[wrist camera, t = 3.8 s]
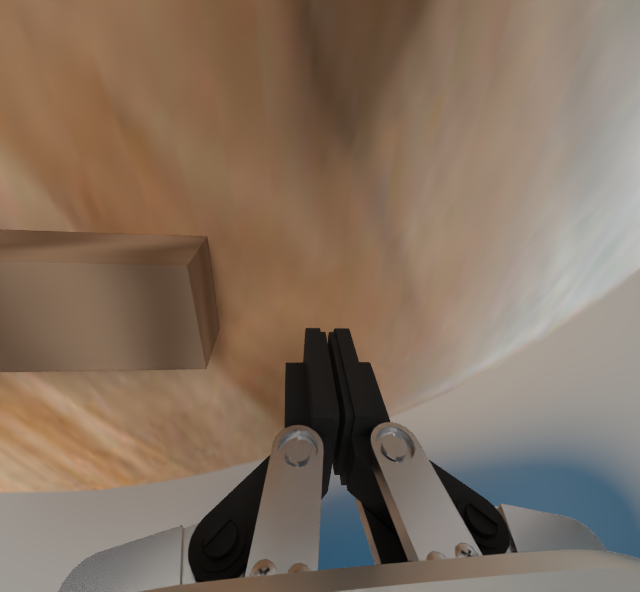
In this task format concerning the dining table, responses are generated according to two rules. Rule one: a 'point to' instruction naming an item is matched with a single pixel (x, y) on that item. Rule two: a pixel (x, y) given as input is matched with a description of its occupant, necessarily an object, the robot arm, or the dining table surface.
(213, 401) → the dining table surface
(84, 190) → the dining table surface
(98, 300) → the walnut slat
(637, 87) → the dining table surface
